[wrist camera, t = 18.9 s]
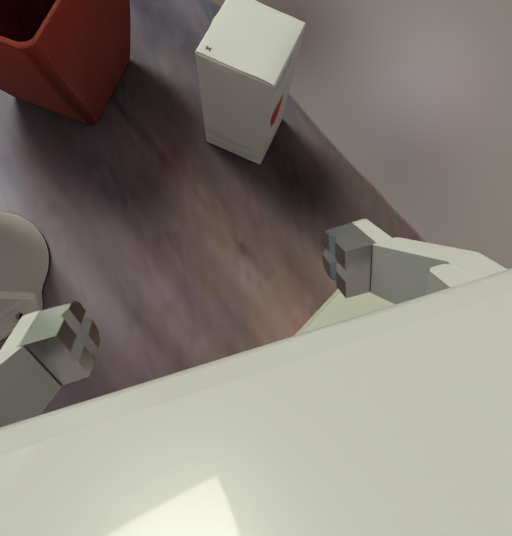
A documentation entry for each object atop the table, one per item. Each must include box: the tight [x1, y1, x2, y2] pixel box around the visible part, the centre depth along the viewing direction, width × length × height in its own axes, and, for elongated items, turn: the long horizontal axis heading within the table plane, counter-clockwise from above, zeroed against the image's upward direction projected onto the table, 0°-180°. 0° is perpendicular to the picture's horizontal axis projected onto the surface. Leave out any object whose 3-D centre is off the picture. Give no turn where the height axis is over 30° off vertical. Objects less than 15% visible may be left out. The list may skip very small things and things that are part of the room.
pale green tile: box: [294, 289, 395, 336], centre depth 39 cm, size 15×14×3 cm
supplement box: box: [196, 0, 305, 164], centre depth 38 cm, size 9×9×15 cm
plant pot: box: [0, 0, 130, 125], centre depth 36 cm, size 19×19×17 cm
